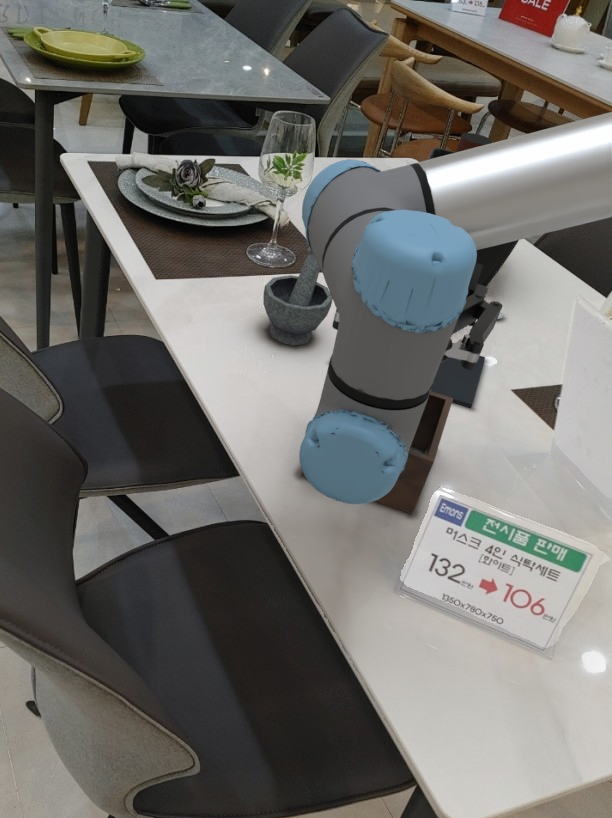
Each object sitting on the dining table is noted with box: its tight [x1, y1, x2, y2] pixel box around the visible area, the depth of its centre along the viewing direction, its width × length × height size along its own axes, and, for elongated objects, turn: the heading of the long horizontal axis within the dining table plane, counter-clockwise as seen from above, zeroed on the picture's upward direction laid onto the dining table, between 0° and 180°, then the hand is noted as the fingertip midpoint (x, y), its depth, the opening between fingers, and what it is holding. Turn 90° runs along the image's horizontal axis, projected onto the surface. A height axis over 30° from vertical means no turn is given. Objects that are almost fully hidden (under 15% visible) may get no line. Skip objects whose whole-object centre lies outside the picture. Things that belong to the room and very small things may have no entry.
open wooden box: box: [301, 391, 453, 515], centre depth 91 cm, size 14×14×8 cm
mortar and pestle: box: [262, 245, 333, 347], centre depth 110 cm, size 11×9×12 cm
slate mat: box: [431, 355, 486, 409], centre depth 112 cm, size 20×14×1 cm
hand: (437, 265), depth 81 cm, fingers closed on wine bottle, 7 cm apart
